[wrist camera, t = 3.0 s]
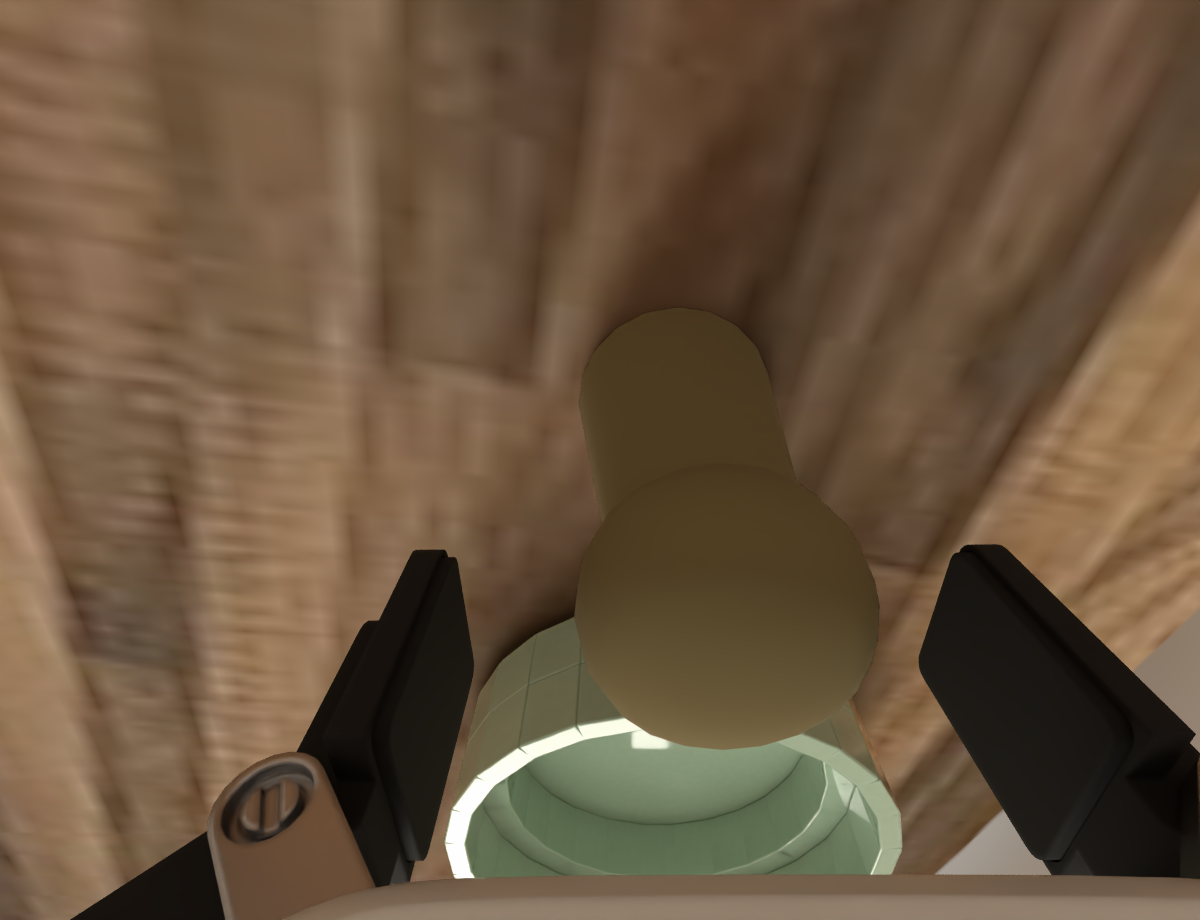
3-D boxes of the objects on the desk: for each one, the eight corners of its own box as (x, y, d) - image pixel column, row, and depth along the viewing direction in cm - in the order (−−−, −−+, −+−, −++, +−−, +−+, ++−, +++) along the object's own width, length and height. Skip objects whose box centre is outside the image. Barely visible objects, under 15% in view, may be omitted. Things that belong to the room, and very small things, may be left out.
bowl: (754, 524, 21) (797, 641, 16) (896, 773, 27) (957, 907, 23) (399, 682, 25) (349, 811, 20) (597, 863, 32) (594, 991, 27)
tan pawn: (610, 281, 17) (605, 474, 7) (802, 340, 17) (1035, 588, 8) (558, 457, 20) (504, 765, 10) (725, 501, 20) (826, 829, 11)
